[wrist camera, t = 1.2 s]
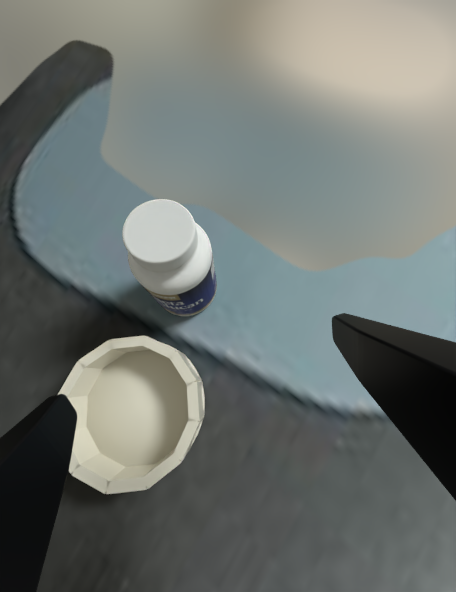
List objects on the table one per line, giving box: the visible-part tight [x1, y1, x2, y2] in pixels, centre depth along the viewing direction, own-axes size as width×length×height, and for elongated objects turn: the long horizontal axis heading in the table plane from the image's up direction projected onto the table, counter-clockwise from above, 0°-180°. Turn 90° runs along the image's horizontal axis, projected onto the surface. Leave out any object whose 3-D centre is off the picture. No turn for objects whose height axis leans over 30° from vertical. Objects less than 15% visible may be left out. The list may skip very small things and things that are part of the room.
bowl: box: [58, 336, 205, 494], centre depth 19 cm, size 10×10×4 cm
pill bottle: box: [122, 199, 217, 316], centre depth 19 cm, size 5×5×10 cm
